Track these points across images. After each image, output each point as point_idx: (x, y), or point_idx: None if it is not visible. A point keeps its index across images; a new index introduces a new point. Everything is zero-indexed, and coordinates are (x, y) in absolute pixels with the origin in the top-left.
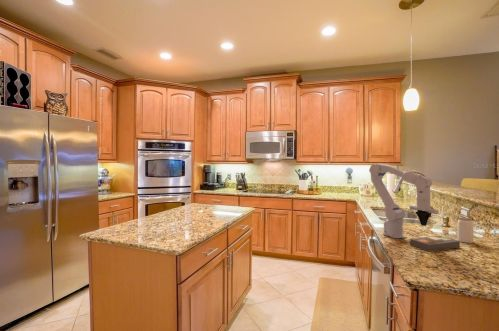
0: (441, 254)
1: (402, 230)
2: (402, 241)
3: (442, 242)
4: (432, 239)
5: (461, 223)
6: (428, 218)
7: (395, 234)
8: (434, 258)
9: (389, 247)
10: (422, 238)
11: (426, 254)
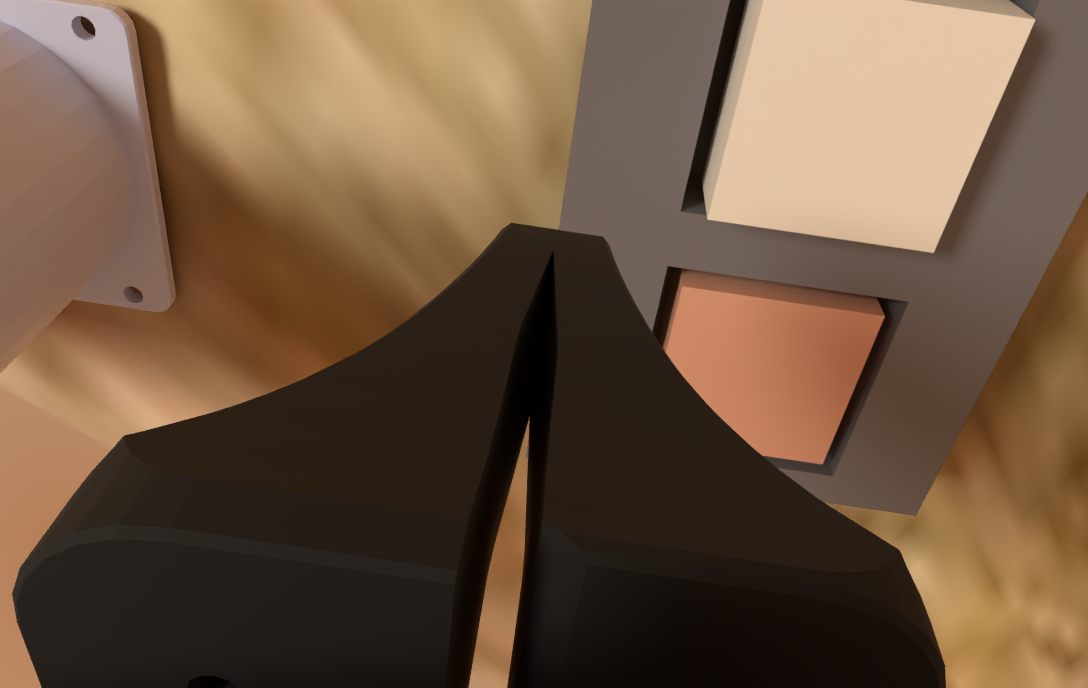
0: (1084, 424)
1: (17, 170)
2: (347, 332)
3: (1062, 148)
4: (853, 233)
5: None
6: (699, 404)
7: (81, 290)
8: (1055, 618)
9: (508, 671)
10: (619, 233)
11: (925, 572)
